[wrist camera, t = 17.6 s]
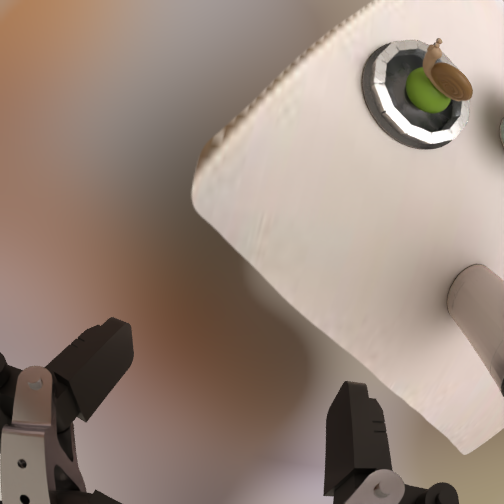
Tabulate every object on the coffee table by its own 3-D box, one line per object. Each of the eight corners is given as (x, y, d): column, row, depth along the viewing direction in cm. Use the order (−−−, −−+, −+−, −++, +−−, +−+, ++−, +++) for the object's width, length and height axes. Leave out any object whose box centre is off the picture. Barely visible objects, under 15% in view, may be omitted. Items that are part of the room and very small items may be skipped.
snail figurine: (405, 60, 23) (446, 23, 12) (445, 95, 24) (499, 76, 12) (384, 89, 25) (424, 58, 14) (426, 125, 26) (480, 114, 14)
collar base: (463, 69, 22) (475, 63, 19) (454, 164, 27) (467, 166, 24) (367, 29, 23) (373, 19, 20) (354, 129, 28) (359, 126, 25)
